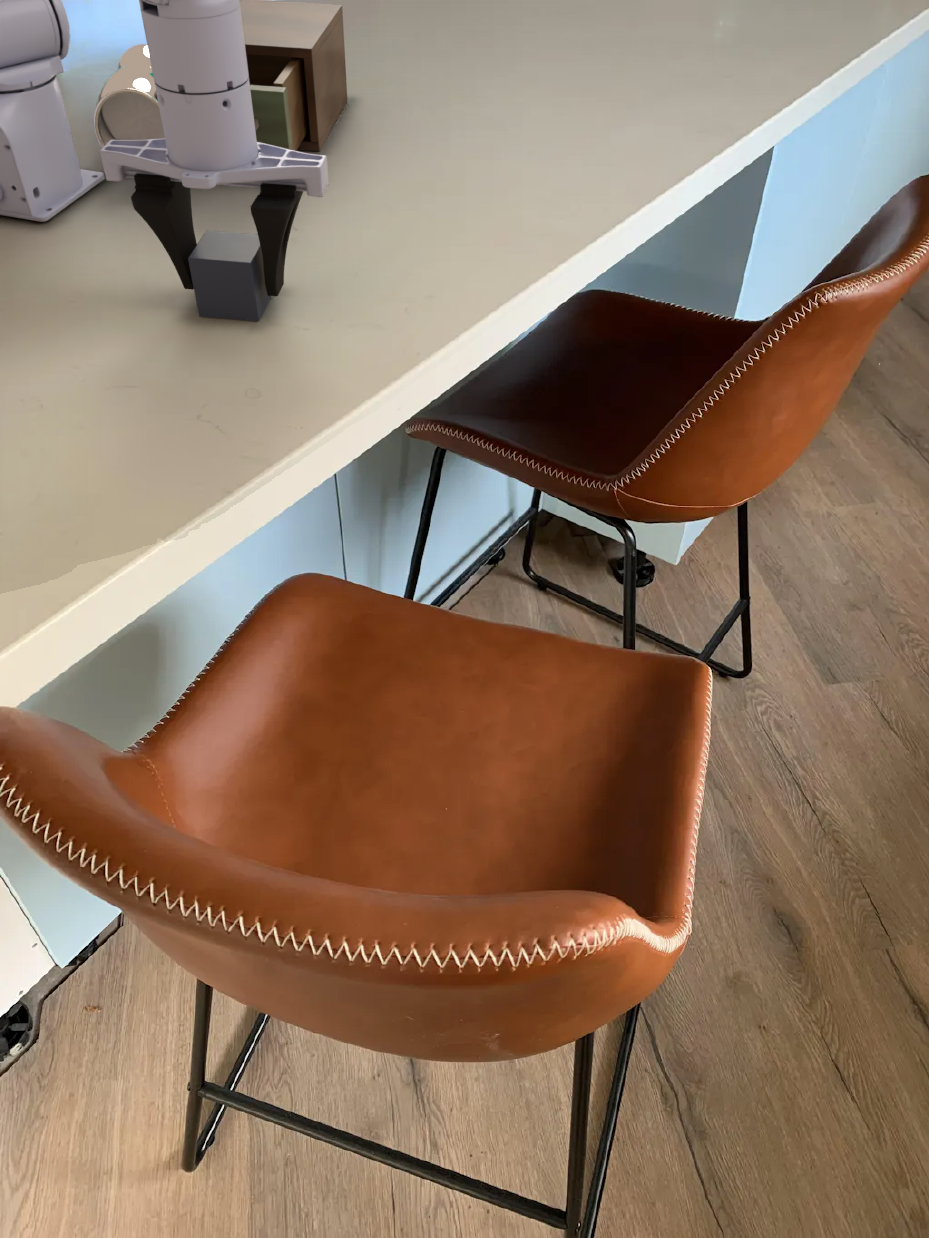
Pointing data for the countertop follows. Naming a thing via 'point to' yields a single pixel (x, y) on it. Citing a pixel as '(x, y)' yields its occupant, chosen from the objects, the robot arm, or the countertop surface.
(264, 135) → the drawer
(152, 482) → the countertop surface
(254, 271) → the block
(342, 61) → the cabinet
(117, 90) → the beige cup
